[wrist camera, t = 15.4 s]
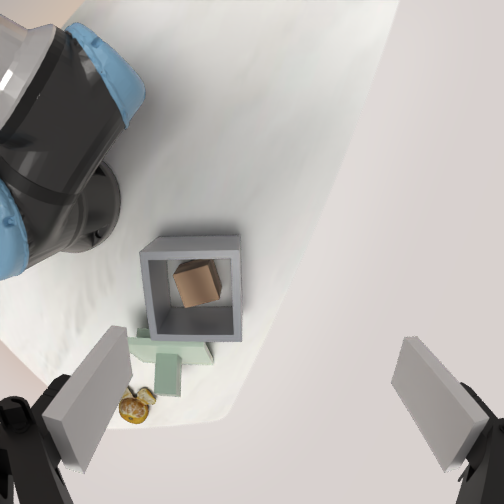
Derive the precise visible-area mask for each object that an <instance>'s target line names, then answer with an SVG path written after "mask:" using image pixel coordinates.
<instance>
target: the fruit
mask: <svg viewBox="0 0 504 504" xmlns="http://www.w3.org/2000/svg"><path fill="white" fill-rule="evenodd" d="M155 402H156V399H155V398H154V397H153V396H152V394H151V392H150V391H148V389H146V388H143V389H141V390H140V391H139V392H138V393H137V398H134V397H133V396H132V394H131V392H130V391H129V389H128V388H126V390H125V392H124V394H123V396H122V400H121V401H120V403H119V413H120V415H121V417H122V418H123V419H125V420H126V421H128V422H130V423H134V424H140V423H142V422H144V421H145V419H146V418H147V416H148V414H149V413H148V412H149V411H148V406H146V405H148V404H152V405H153V404H155Z"/></svg>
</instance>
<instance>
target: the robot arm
mask: <svg viewBox="0 0 504 504" xmlns="http://www.w3.org/2000/svg"><path fill="white" fill-rule="evenodd" d="M145 92H146V90H145V86H144V83H143V82H142V80H141V78H140V77H139V76H138V74H137V73H136V72H135V71H134V70H133V69H132V67H131V66H130V65H129V64H128V63H127V62H126V61H125V60H124V59H123V58H122V57H121V56H120V55H119V54H118V53H117V52H116V51H115V50H114V49H113V48H112V47H110V46H109V45H108V44H107V43H105V42H103V41H102V39H101V38H99V37H98V36H97V35H96V34H95V33H94V32H93V31H92V30H90V29H89V28H87V27H86V26H84V25H83V24H80V23H73V24H72V25H71V26H68V27H67V28H66V29H65V32H64V31H62V30H61V29H59V28H58V27H56V26H55V25H53V24H48V25H45V26H41V27H37V28H34V29H26V28H24V27H22V26H21V25H19V24H17V23H15V22H14V21H12V20H10V19H8V18H7V17H5V16H3V15H1V14H0V281H1V280H5V279H7V278H10V277H13V276H18V275H20V274H21V273H22V272H24V271H25V270H26V269H28V268H30V267H31V266H33V265H35V264H37V263H39V262H41V261H43V260H44V259H46V258H48V257H50V256H52V255H54V254H56V253H58V252H60V251H61V252H69V253H80V252H84V251H88V250H90V249H92V248H94V247H96V246H97V245H99V244H101V243H102V242H103V241H104V240H105V239H106V238H107V237H108V236H109V235H110V234H111V232H112V230H113V229H114V227H115V225H116V222H117V219H118V216H119V210H120V193H119V188H118V184H117V181H116V179H115V177H114V175H113V173H112V171H111V170H110V169H109V167H108V166H107V165H106V164H105V163H104V162H103V161H102V159H103V158H104V156H105V155H106V154H107V152H108V151H109V149H110V148H111V146H112V145H113V143H114V142H115V141H116V139H117V138H118V136H119V135H120V134H121V132H122V131H123V129H125V130H126V129H127V128H128V126H129V121H130V120H131V119H132V117H133V116H134V114H135V113H136V111H137V110H138V109H139V107H140V106H141V105H142V103H143V101H144V99H145ZM132 376H133V374H132V368H131V361H130V353H129V346H128V338H127V329H126V327H119V326H111V327H110V328H109V329H108V330H107V332H106V333H105V334H104V335H103V337H102V338H101V339H100V340H99V341H98V343H97V344H96V345H95V346H94V348H93V349H92V350H91V351H90V353H89V354H88V355H87V356H86V358H85V359H84V360H83V361H82V363H81V364H80V365H79V367H78V368H77V369H76V370H75V372H74V373H73V374H72V376H70V375H66V374H63V375H61V376H59V377H58V378H56V379H54V380H53V381H52V383H51V384H50V385H49V386H48V389H46V390H45V391H44V393H43V395H41V396H40V398H39V399H38V400H37V401H36V403H35V404H34V405H33V406H32V407H31V408H30V406H29V404H28V402H27V400H25V399H24V398H22V397H17V396H10V397H7V398H4V399H3V400H1V401H0V504H14V502H13V494H14V491H13V490H14V484H15V488H16V491H17V495H18V499H19V502H20V504H73V501H72V499H71V497H70V495H69V492H68V490H67V488H66V485H65V483H64V480H63V478H62V475H61V473H60V471H59V468H58V467H57V466H58V464H59V462H60V460H61V459H62V461H63V463H64V465H65V467H66V468H67V469H69V470H73V471H75V472H79V473H82V474H85V471H86V469H87V467H88V465H89V463H90V461H91V458H92V457H93V454H94V452H95V450H96V448H97V446H98V444H99V442H100V440H101V438H102V436H103V434H104V432H105V430H106V428H107V426H108V424H109V422H110V420H111V418H112V416H113V414H114V412H115V410H116V408H117V406H118V404H119V402H120V400H121V398H122V396H123V394H124V392H125V390H126V388H127V386H128V384H129V382H130V380H131V378H132ZM391 384H392V385H393V387H394V389H395V390H396V392H397V393H398V395H399V397H400V398H401V400H402V402H403V403H404V405H405V406H406V408H407V410H408V411H409V413H410V414H411V416H412V418H413V420H414V421H415V423H416V425H417V426H418V428H419V430H420V431H421V433H422V435H423V436H424V438H425V440H426V441H427V443H428V445H429V447H430V448H431V450H432V452H433V454H434V455H435V457H436V459H437V461H438V462H439V464H440V466H441V468H442V469H443V471H444V473H446V472H449V471H452V470H455V469H458V468H460V466H461V465H462V463H463V461H464V460H465V458H466V459H467V460H468V462H469V465H468V466H467V467H466V469H465V470H464V472H463V473H462V475H461V476H460V477H459V479H458V482H460V481H461V479H462V478H463V481H462V485H461V488H460V491H459V495H458V498H457V501H456V504H504V418H501V419H498V418H497V417H496V416H495V415H494V414H493V412H492V411H491V410H490V409H489V408H488V407H487V405H486V404H485V403H484V402H483V401H482V400H481V399H480V397H479V396H477V394H476V393H475V392H474V391H473V390H472V388H470V387H469V386H467V385H466V384H464V383H462V382H461V383H459V382H458V381H457V380H456V378H455V377H454V376H453V375H452V374H451V373H450V372H449V371H448V370H447V368H446V367H445V366H444V365H443V364H442V363H441V362H440V361H439V360H438V358H437V357H436V356H435V355H434V354H433V353H432V352H431V351H430V350H429V349H428V348H427V347H426V345H424V343H423V342H422V341H421V340H420V339H419V338H418V337H417V336H415V337H404V340H403V344H402V347H401V351H400V355H399V358H398V361H397V365H396V368H395V371H394V375H393V378H392V381H391Z"/></svg>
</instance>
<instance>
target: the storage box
mask: <svg viewBox="0 0 504 504" xmlns="http://www.w3.org/2000/svg"><path fill="white" fill-rule="evenodd" d="M139 253H140V263H141V272H142V280H143V289H144V296H145V304H146V311H147V318H148V324H149V331H150V337H151V341H182V342H242V278H241V237H240V235H211V236H172V237H157V238H156V239H155V240H154V241H152V242H151V243H150V244H149V245H148V246H146V247H145V248H144V249H143V250H141V251H140V252H139ZM180 259H231V275H232V302H233V307H188V308H185V307H171V301H170V292H169V282H168V271H167V260H180Z"/></svg>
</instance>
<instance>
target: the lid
mask: <svg viewBox="0 0 504 504" xmlns="http://www.w3.org/2000/svg"><path fill="white" fill-rule="evenodd" d="M127 338H128V346H129V352H130V353H131V354H133V355H134V356H135V357H137V358H138V359H139V360H141V361H142V362H145V363H156V364H155V383H154V393H155V394H157V395H160V396H174V397H181V365H182V364H188V365H213V357H212V355H211V353H210V351H209V349H208V347H207V345H206V343H205V342H182V341H151V337H150V331H149V329H145V328H138V329H137V338H133V337H127Z"/></svg>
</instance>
